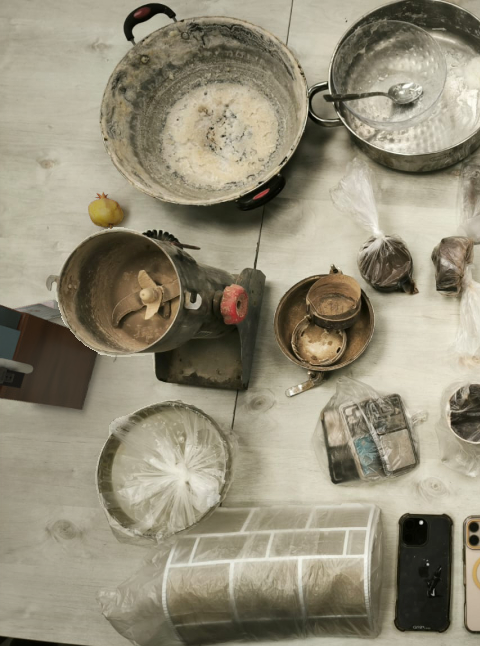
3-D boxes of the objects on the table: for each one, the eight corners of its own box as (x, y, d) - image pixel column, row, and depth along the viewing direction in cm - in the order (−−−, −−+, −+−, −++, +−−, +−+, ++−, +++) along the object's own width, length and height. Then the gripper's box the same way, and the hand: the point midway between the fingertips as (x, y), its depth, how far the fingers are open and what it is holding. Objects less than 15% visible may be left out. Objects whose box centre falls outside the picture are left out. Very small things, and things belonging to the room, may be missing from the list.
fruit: (121, 222, 123) (112, 183, 125) (87, 227, 121) (78, 188, 123) (130, 235, 130) (121, 198, 132) (97, 241, 127) (89, 203, 129)
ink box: (19, 316, 124) (-16, 304, 115) (69, 305, 125) (39, 292, 115) (20, 326, 123) (-15, 315, 114) (70, 315, 124) (39, 303, 115)
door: (49, 335, 99) (9, 322, 90) (36, 377, 98) (-5, 368, 89) (17, 331, 100) (-26, 317, 90) (4, 372, 98) (-41, 363, 89)
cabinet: (101, 339, 123) (-25, 294, 90) (81, 409, 120) (-57, 390, 86) (58, 333, 123) (-84, 286, 90) (37, 404, 120) (-118, 382, 87)
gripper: (-61, 331, 71) (62, 363, 94) (-158, 319, 71) (-12, 353, 94) (-81, 388, 69) (49, 406, 93) (-180, 375, 70) (-26, 396, 93)
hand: (18, 380), depth 93 cm, fingers closed
